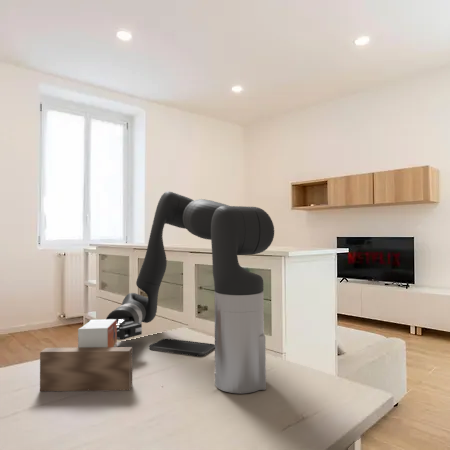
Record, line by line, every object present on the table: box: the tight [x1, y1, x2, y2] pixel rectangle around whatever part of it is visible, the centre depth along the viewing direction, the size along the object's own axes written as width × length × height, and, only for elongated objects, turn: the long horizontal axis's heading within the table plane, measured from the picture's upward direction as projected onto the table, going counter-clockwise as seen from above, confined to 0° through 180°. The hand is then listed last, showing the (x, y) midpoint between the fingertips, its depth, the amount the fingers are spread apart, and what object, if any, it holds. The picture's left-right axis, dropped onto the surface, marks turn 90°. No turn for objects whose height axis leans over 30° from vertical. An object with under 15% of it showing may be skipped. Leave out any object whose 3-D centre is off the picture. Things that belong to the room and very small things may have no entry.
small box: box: [77, 318, 118, 348], centre depth 73 cm, size 8×6×10 cm
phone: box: [148, 337, 215, 357], centre depth 91 cm, size 8×1×15 cm
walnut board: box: [39, 346, 133, 392], centre depth 68 cm, size 16×2×7 cm, turn 91°
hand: (103, 339), depth 77 cm, fingers closed
